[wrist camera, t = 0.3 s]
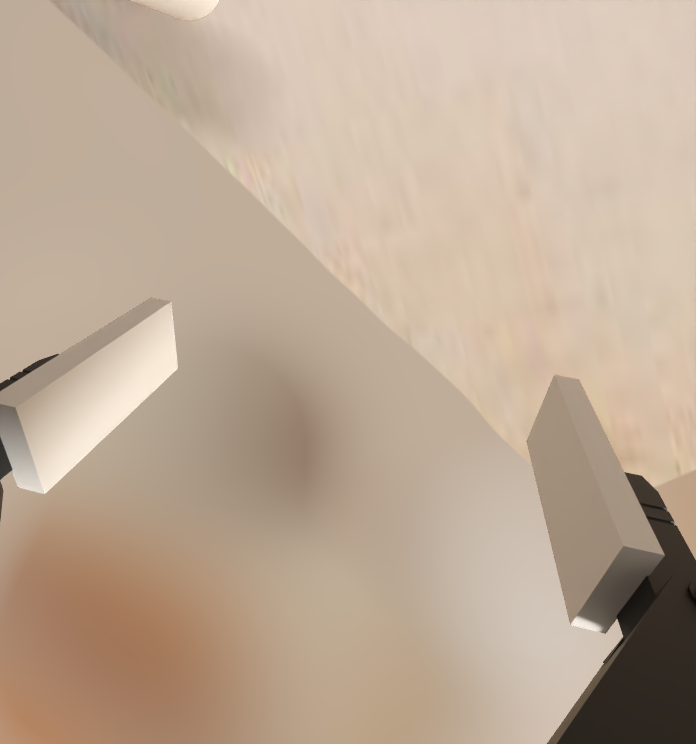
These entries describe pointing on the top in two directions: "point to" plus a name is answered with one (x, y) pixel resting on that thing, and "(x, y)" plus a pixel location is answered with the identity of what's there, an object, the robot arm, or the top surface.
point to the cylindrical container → (181, 7)
